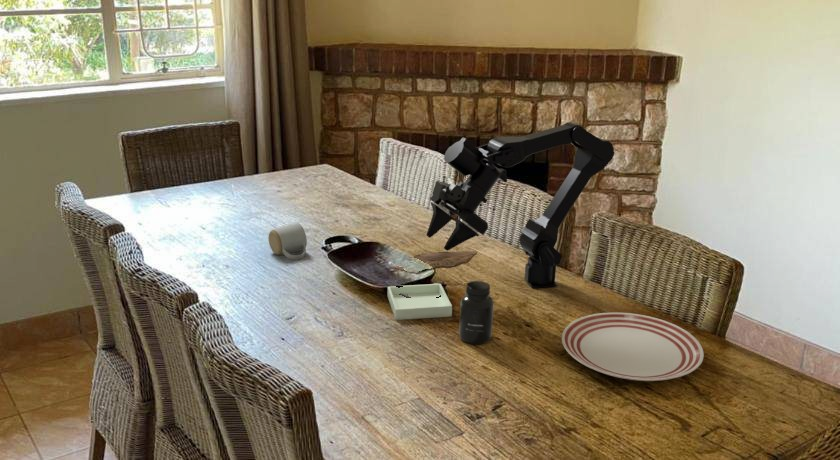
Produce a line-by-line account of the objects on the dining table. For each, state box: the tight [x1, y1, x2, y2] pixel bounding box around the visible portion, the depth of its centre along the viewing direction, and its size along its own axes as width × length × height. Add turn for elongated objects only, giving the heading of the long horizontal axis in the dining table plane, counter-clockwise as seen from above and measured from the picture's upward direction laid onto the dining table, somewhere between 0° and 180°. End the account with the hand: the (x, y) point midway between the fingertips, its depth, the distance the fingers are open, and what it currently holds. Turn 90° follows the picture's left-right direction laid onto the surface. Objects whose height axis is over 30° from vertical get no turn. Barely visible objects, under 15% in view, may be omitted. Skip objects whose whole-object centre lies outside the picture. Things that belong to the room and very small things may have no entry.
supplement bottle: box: [458, 280, 495, 345], centre depth 159 cm, size 7×7×12 cm
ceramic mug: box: [268, 221, 308, 261], centre depth 204 cm, size 11×8×8 cm
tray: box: [387, 283, 453, 321], centre depth 175 cm, size 13×13×2 cm
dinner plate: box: [561, 312, 705, 382], centre depth 154 cm, size 27×27×3 cm
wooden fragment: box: [392, 250, 478, 272], centre depth 202 cm, size 26×11×1 cm, turn 118°
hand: (436, 242), depth 174 cm, fingers open, 9 cm apart
